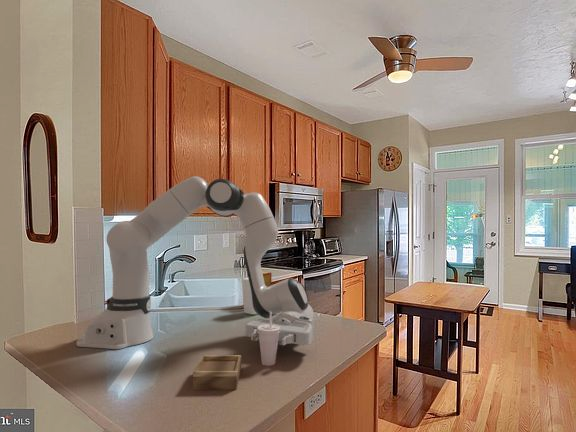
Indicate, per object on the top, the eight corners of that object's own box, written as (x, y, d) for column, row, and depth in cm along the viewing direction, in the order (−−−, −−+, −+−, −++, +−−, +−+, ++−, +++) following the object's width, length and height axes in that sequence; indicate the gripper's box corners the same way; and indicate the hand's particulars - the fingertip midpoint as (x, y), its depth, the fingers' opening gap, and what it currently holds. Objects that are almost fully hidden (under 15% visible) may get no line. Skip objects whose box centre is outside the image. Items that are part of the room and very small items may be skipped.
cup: (250, 310, 151) (251, 276, 151) (264, 312, 147) (264, 278, 147) (240, 314, 144) (241, 279, 145) (255, 316, 141) (255, 280, 141)
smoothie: (277, 368, 90) (277, 315, 90) (253, 366, 91) (254, 314, 92) (282, 359, 96) (282, 309, 97) (260, 357, 98) (260, 308, 98)
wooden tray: (192, 389, 78) (193, 372, 78) (202, 371, 88) (202, 355, 88) (236, 389, 79) (236, 371, 79) (241, 370, 89) (241, 355, 89)
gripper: (257, 312, 110) (234, 323, 97) (318, 319, 102) (301, 333, 89) (257, 332, 110) (234, 346, 97) (317, 341, 102) (301, 357, 89)
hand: (267, 339), depth 93 cm, fingers open, 7 cm apart
